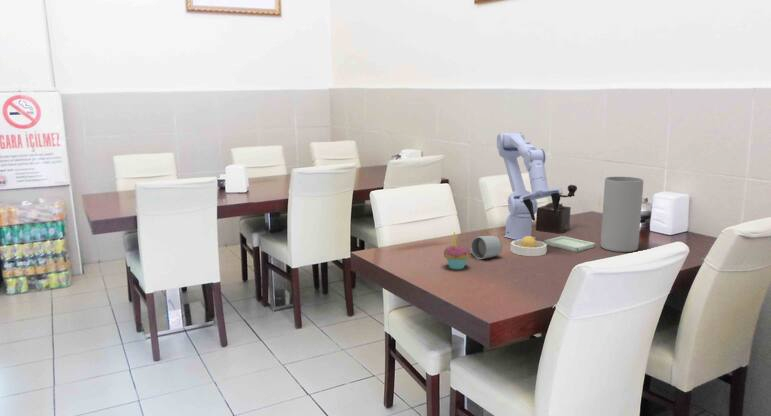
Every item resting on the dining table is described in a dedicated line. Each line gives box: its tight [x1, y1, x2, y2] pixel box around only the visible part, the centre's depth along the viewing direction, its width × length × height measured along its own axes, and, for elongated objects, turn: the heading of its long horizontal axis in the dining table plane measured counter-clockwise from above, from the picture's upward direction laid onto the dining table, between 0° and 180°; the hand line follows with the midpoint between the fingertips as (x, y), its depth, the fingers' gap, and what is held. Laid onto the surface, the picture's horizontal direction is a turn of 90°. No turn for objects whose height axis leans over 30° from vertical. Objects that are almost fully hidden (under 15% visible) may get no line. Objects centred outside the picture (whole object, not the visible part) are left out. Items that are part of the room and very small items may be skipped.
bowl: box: [509, 239, 548, 257], centre depth 203 cm, size 12×12×3 cm
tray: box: [543, 235, 596, 253], centre depth 211 cm, size 14×11×2 cm
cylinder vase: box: [600, 176, 644, 253], centre depth 205 cm, size 12×12×25 cm
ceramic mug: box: [470, 235, 503, 260], centre depth 197 cm, size 11×8×8 cm
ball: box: [522, 235, 536, 248], centre depth 203 cm, size 5×5×5 cm
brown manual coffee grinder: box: [535, 184, 578, 235], centre depth 236 cm, size 16×11×18 cm
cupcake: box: [443, 231, 471, 270], centre depth 184 cm, size 9×8×12 cm
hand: (544, 217), depth 199 cm, fingers open, 7 cm apart
